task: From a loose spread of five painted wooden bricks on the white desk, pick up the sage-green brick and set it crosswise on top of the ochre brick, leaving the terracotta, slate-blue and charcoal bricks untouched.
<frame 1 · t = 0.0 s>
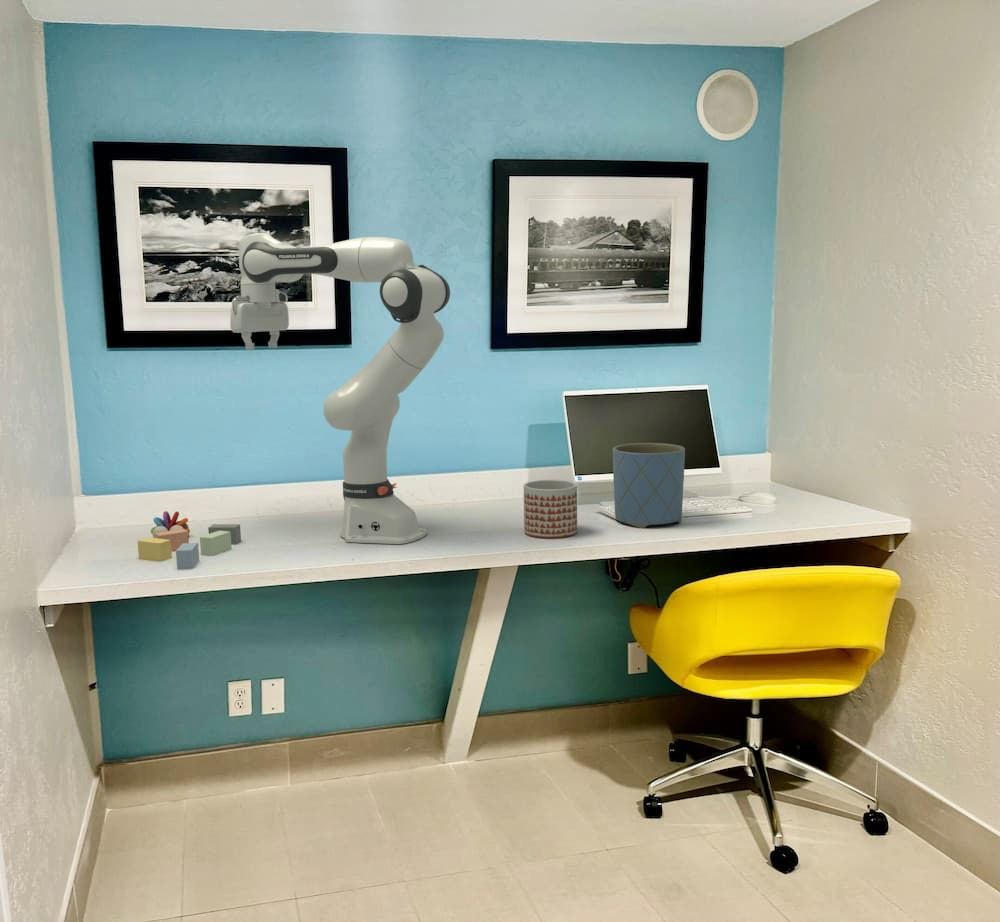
hand: (261, 349, 254), 48 cm above the table, fingers open, 8 cm apart
vase: (550, 533, 247), on the table
charcoal brick: (225, 543, 243), on the table
planter: (648, 521, 258), on the table
multicolored fanned-prong toy: (171, 539, 249), on the table
ochre brick: (155, 558, 230), on the table
sage brick: (216, 552, 234), on the table
slate brick: (188, 565, 223), on the table
terracotta brick: (172, 549, 238), on the table
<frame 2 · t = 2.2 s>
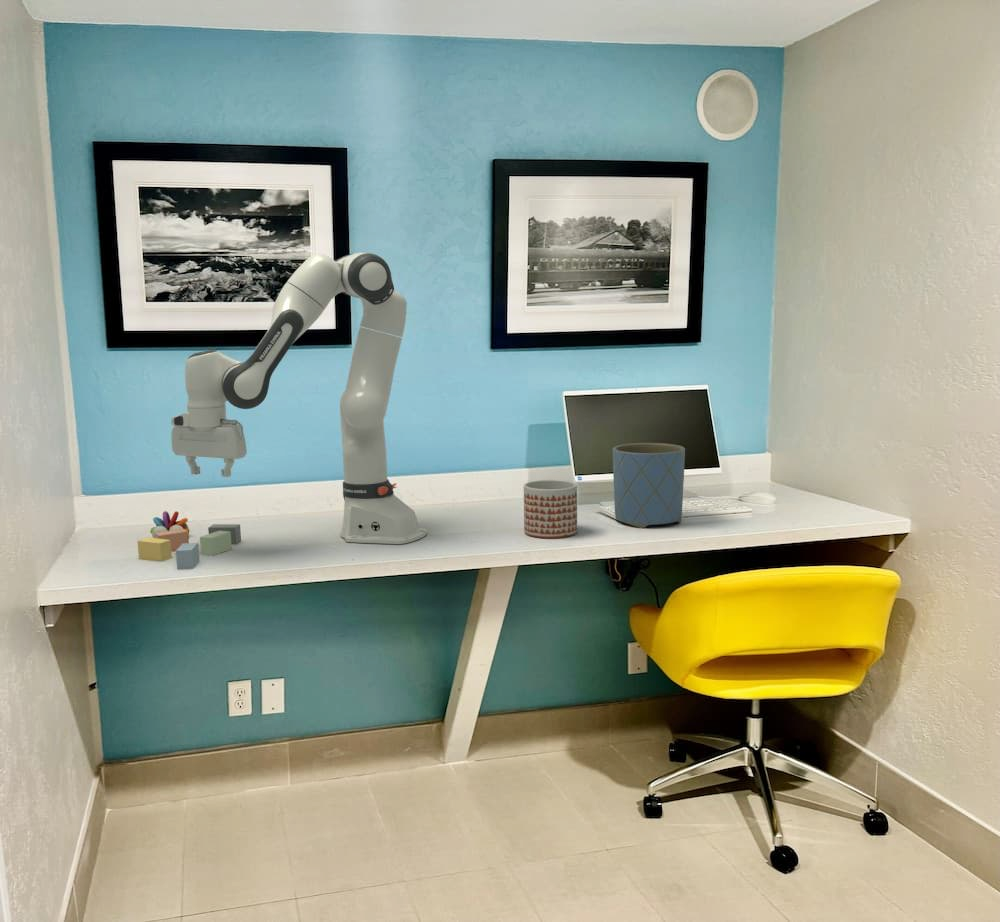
hand: (210, 475, 231), 19 cm above the table, fingers open, 8 cm apart
nothing on the table moved.
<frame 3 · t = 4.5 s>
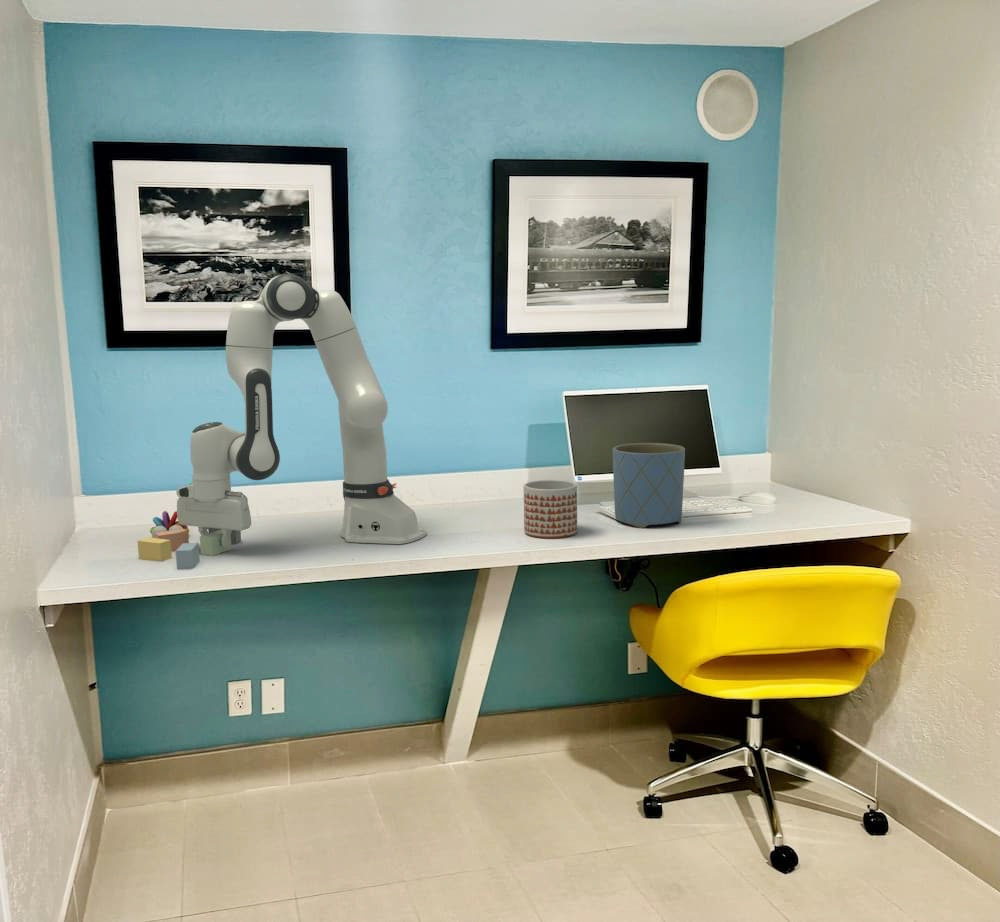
hand: (216, 545, 234), 2 cm above the table, fingers closed on sage brick, 3 cm apart
sage brick: (216, 551, 234), on the table, touching gripper
everything else where it was.
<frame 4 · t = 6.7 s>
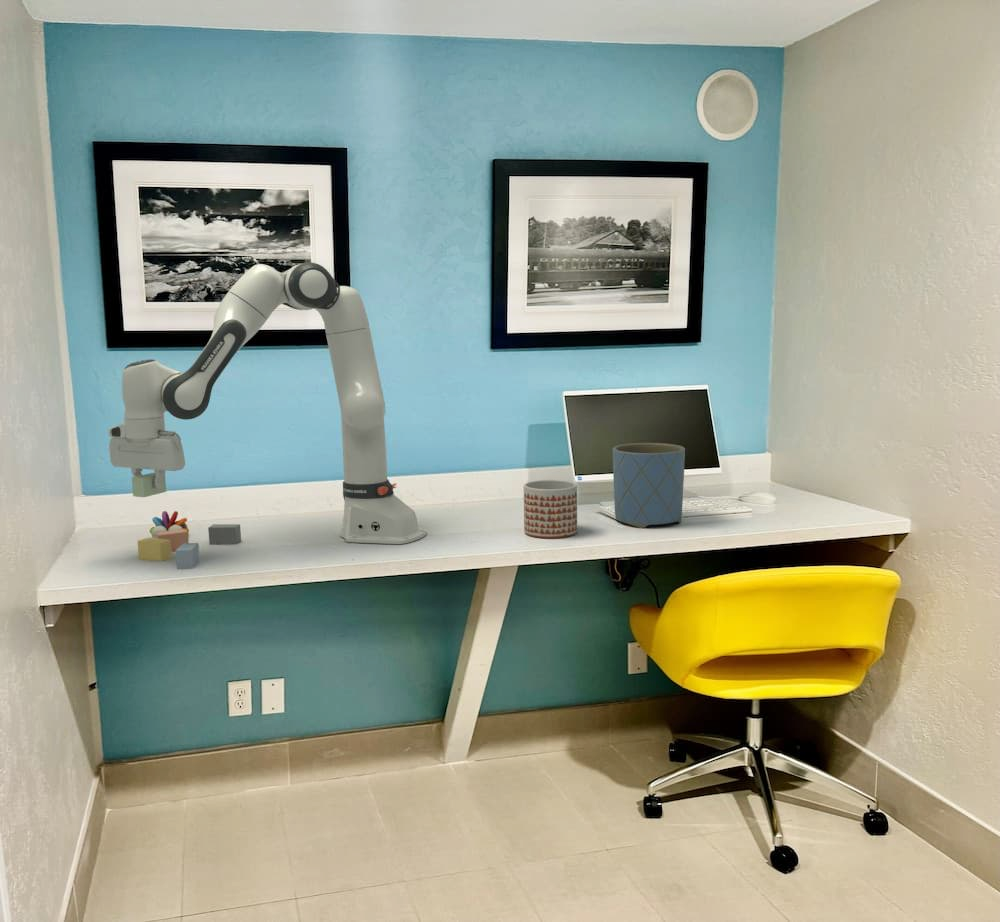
hand: (149, 487, 227), 17 cm above the table, fingers closed on sage brick, 3 cm apart
sage brick: (149, 494, 227), point 16 cm above the table, touching gripper
everything else where it was.
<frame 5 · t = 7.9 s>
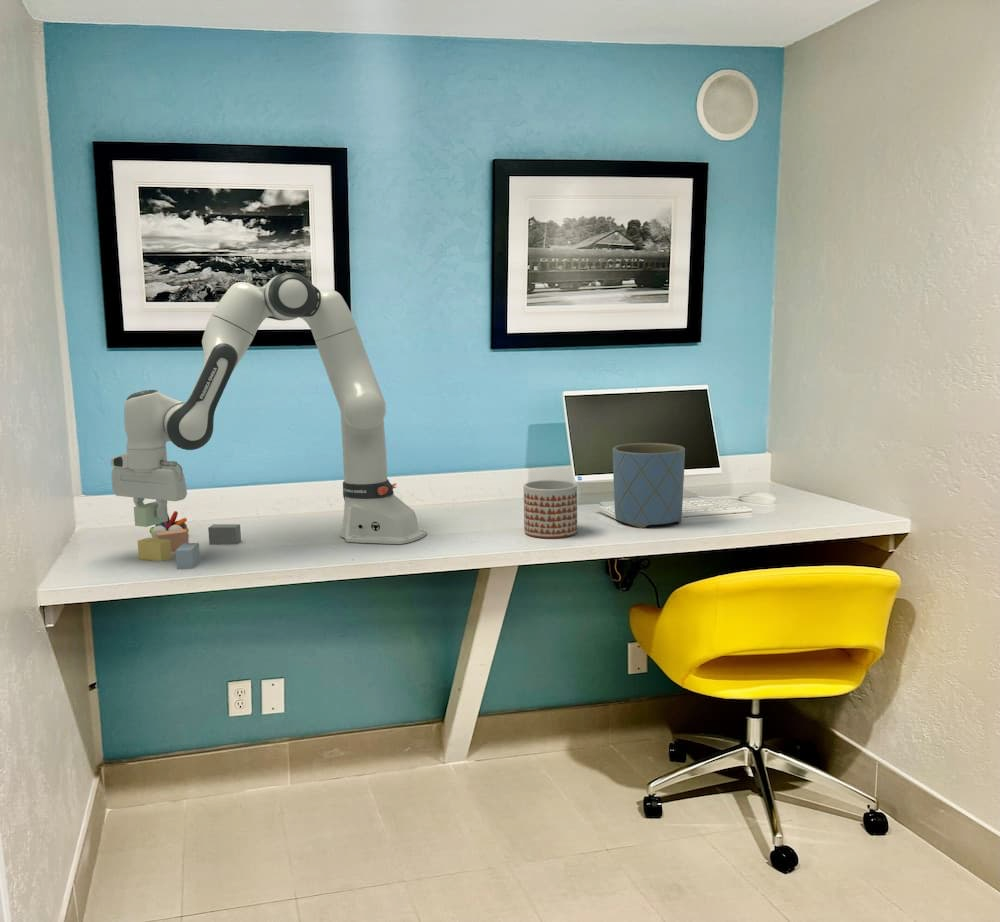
hand: (151, 516, 228), 10 cm above the table, fingers closed on sage brick, 3 cm apart
sage brick: (151, 523, 228), point 9 cm above the table, touching gripper
everything else where it was.
when the fingers open (7 cm above the table, at t = 8.8 s): sage brick stays where it is, point 4 cm above the table.
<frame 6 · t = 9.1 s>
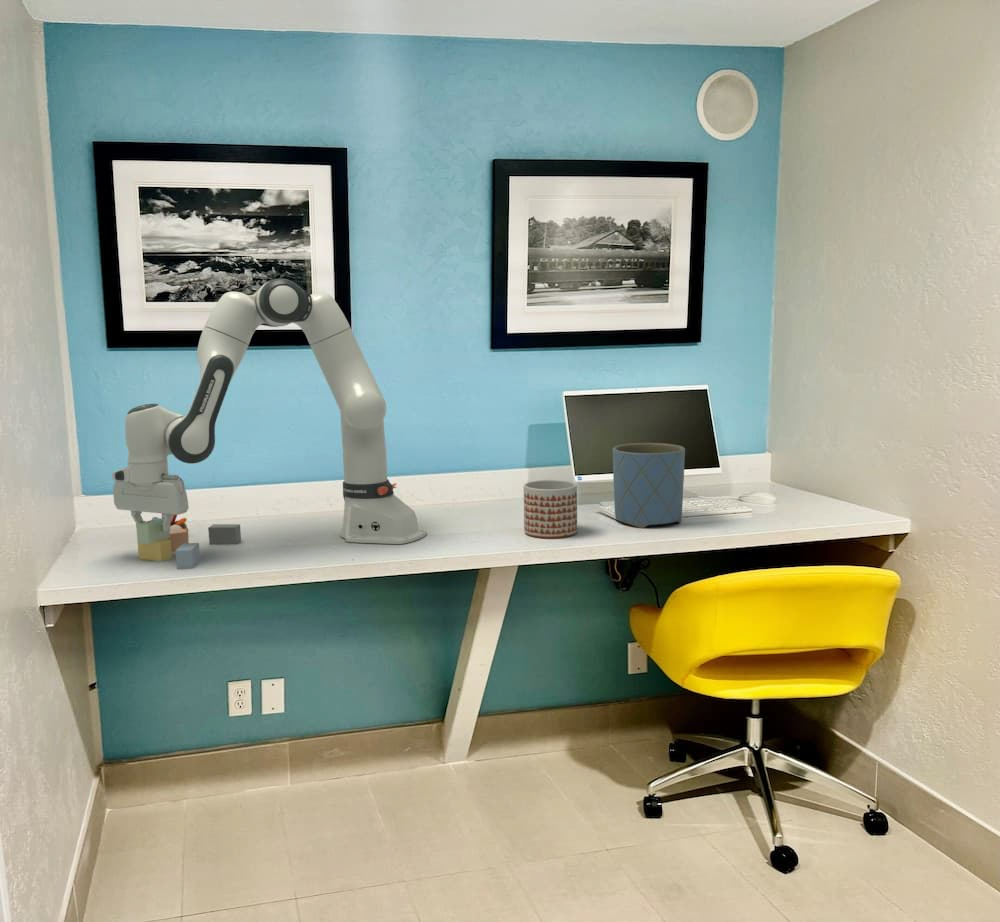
hand: (153, 529, 228), 7 cm above the table, fingers open, 6 cm apart
sage brick: (154, 540, 229), point 4 cm above the table
everything else where it was.
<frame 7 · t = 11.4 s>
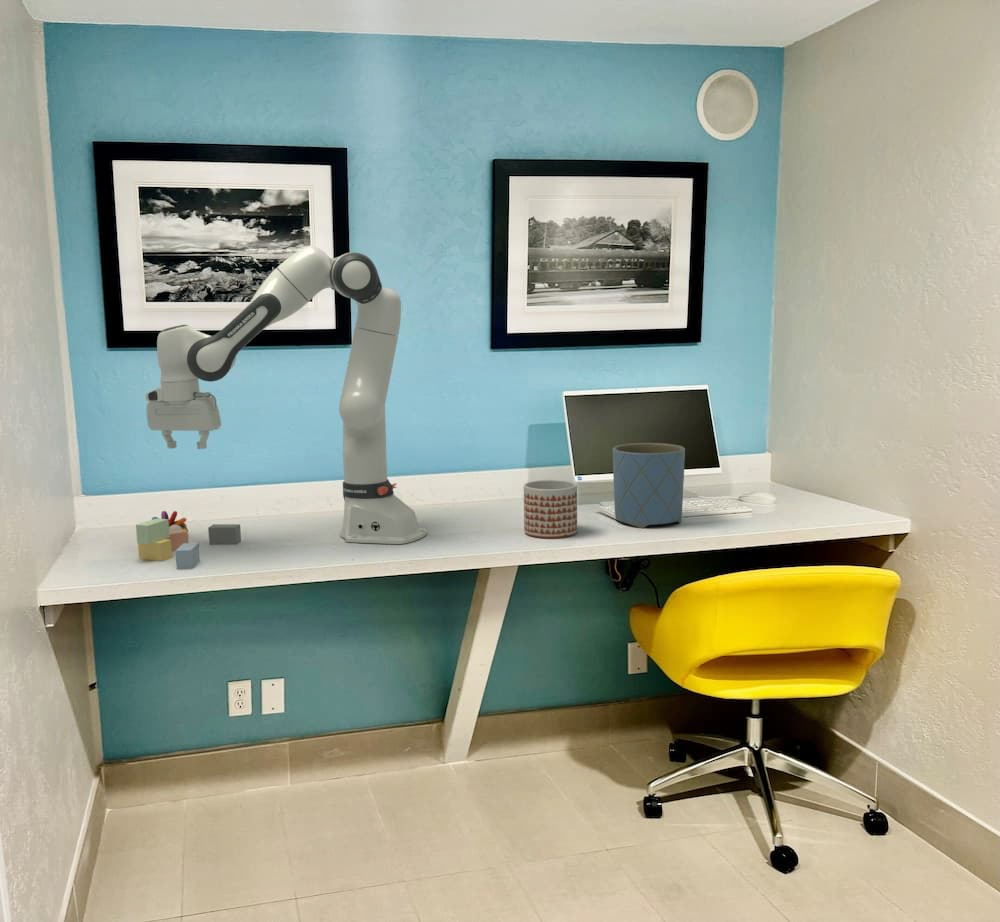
hand: (187, 448, 236), 25 cm above the table, fingers open, 8 cm apart
ochre brick: (155, 558, 230), on the table, touching sage brick
sage brick: (153, 540, 229), point 4 cm above the table, touching ochre brick
everything else where it was.
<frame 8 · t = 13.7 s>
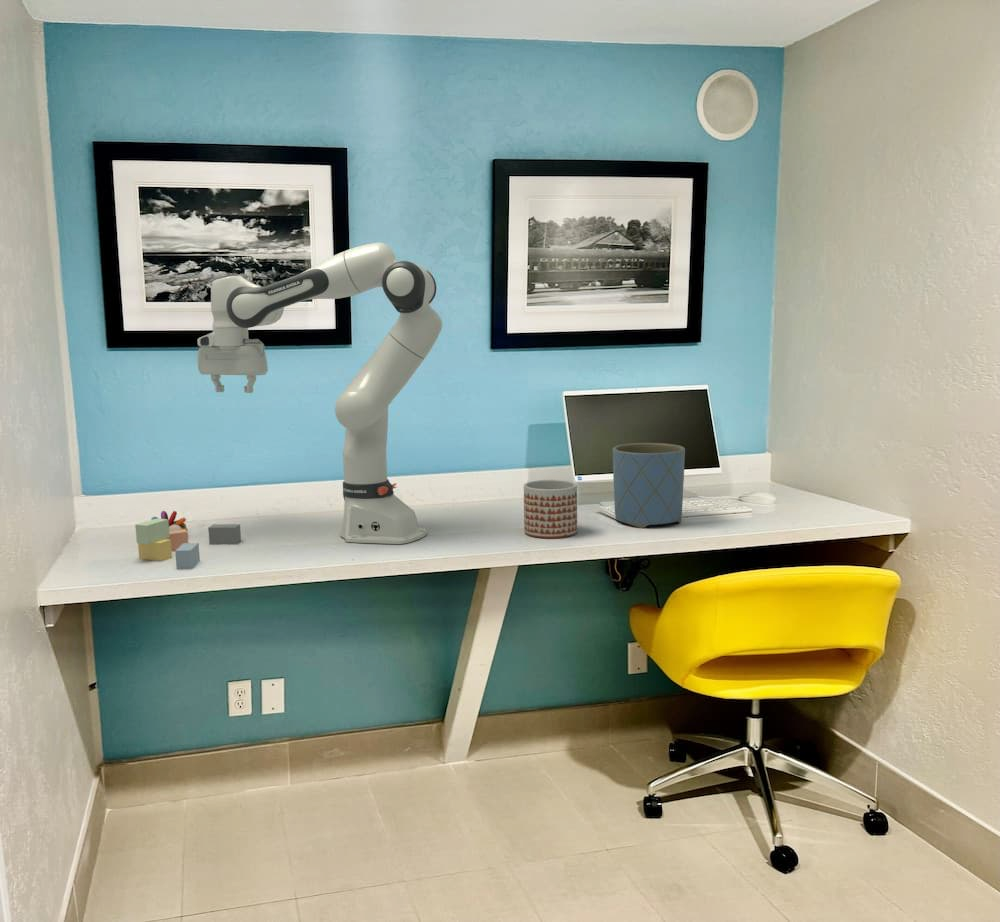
hand: (234, 392, 250), 37 cm above the table, fingers open, 8 cm apart
nothing on the table moved.
at the end: sage brick 0.2 cm off-centre on the ochre brick, point 4.5 cm above the ochre brick's base; terracotta brick moved 0.2 cm from its start; slate brick moved 0.2 cm from its start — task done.
